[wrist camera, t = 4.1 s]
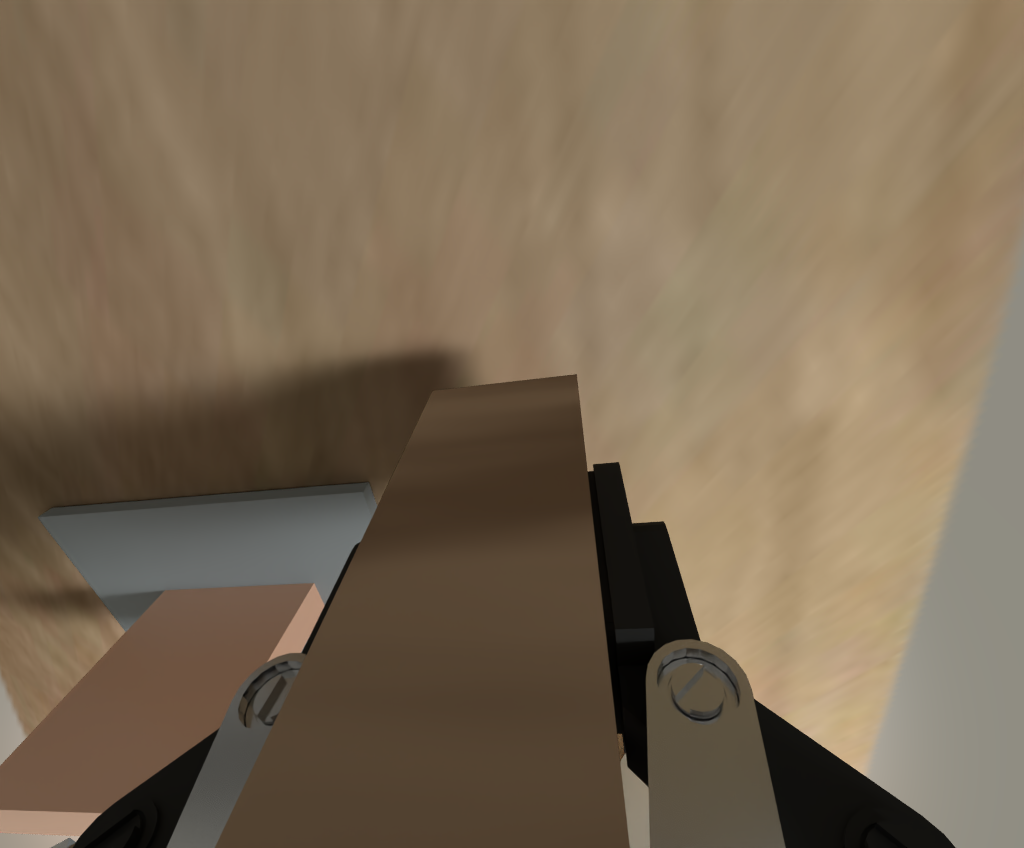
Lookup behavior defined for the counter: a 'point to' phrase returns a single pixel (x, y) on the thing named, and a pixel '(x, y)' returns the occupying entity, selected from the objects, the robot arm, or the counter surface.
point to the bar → (457, 653)
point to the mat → (212, 542)
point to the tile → (149, 701)
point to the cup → (636, 807)
